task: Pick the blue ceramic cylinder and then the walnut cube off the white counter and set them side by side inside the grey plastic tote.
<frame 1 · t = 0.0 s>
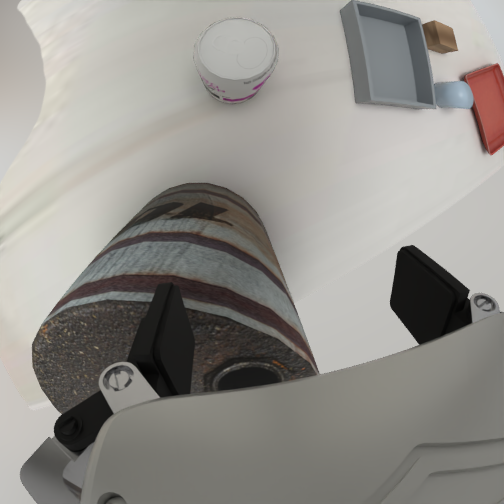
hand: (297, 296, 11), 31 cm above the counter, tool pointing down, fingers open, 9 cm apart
tote: (383, 58, 32), on the counter
supplement can: (233, 78, 33), on the counter
blue cylinder: (440, 95, 34), on the counter
walnut cube: (430, 39, 29), on the counter
plant saucer: (487, 105, 35), on the counter
barrel: (198, 251, 44), on the counter
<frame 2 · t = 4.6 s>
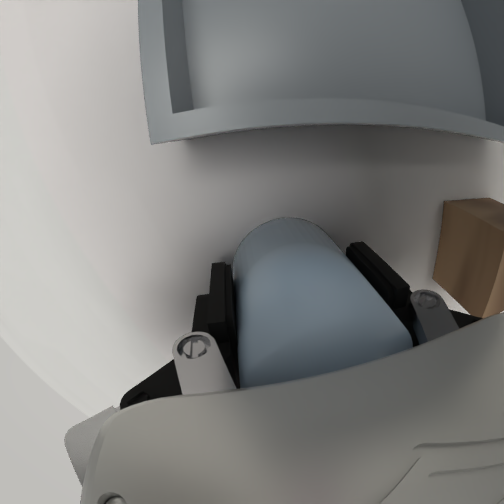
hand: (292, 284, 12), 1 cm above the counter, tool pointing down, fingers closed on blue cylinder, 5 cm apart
tote: (360, 2, 7), on the counter
blue cylinder: (285, 268, 13), on the counter, touching gripper
walnut cube: (463, 236, 13), on the counter
when the fingers open (5 cm above the counter, at t = 9.6 s): blue cylinder drops 3 cm, resting on tote.
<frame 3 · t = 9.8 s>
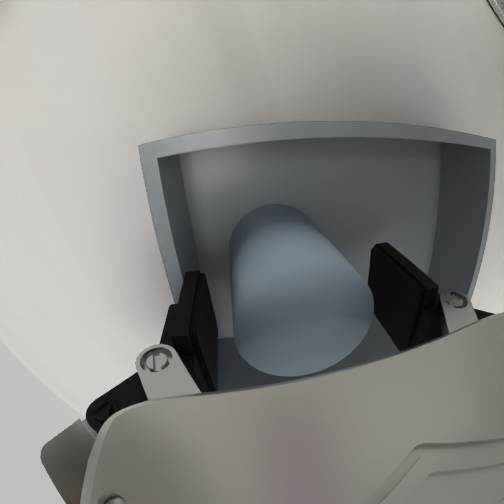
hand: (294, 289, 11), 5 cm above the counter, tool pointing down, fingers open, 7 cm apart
tote: (333, 236, 16), on the counter
blue cylinder: (274, 247, 15), resting on tote
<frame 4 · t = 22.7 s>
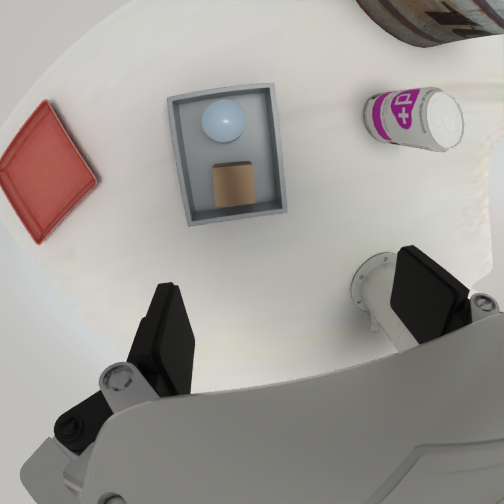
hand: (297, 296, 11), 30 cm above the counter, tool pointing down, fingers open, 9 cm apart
tote: (228, 151, 36), on the counter
supplement can: (383, 118, 36), on the counter
blue cylinder: (225, 125, 34), point 1 cm above the counter, touching tote
walnut cube: (233, 179, 38), resting on tote
plant saucer: (47, 171, 34), on the counter
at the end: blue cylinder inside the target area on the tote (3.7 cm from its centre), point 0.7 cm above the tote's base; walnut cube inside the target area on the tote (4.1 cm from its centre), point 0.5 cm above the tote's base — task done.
